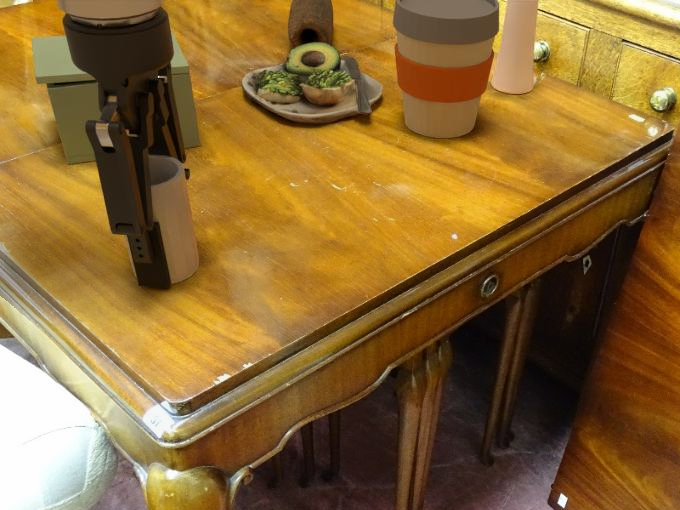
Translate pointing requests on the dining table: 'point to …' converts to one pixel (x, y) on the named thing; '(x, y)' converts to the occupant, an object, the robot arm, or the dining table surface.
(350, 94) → the avocado toast plate
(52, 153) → the dining table surface
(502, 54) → the cosmetic bottle
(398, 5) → the reusable coffee cup
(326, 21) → the stone weight
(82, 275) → the dining table surface
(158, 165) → the pinkish-brown cup
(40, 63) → the box lid
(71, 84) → the storage box
